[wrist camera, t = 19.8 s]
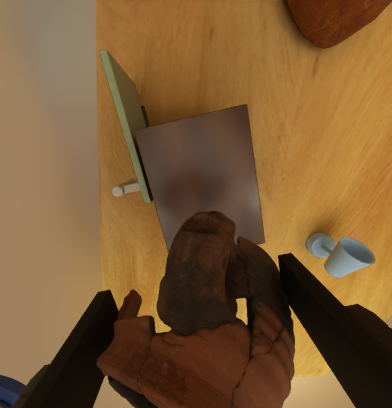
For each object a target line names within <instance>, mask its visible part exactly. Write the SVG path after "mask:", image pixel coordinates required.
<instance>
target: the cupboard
mask: <svg viewBox="0 0 392 408" xmlns="http://www.w3.org/2000/svg"><path fill="white" fill-rule="evenodd" d="M141 109H142V113H143V116H144V120H145V124H146V127H145V128H140V129H136V130H134V134H135V137H136V141H137V144H138V148H139V151H140V155H141V158H142V162H143V165H144V169H145V172H146V176H147V179H148V182H149V186H150V189H151V193H152V196H153V200H154V203H155V207H156V210H157V214H158V217H159V221H160V224H161V228H162V231H163V235H164V238H165V242H166V245H167V249H168V252H169V250H170V247H171V244H172V242H173V239H174V237H175V235H176V234H177V232H178V230H179V229H180V227H181V226H182V224H183V223H184V222H185V221H186V220H187V219H188V218H190V217H191V216H193V215H194V214H195V213H197V212H204V211H206V212H210V211H220V212H222V213H223V214H224V215H225V216H226V217H228V218H229V219H231V220H232V221H234V223H235V226H236V230H235V236H234V241H235V243H236V241H237V239H238V237H240V236H241V237H243V238H246V239H247V240H250V241H251V242H253V243H254V244H256V245H257V244H262V243H265V237H264V229H263V222H262V214H261V207H260V199H259V191H258V184H257V176H256V169H255V161H254V154H253V146H252V138H251V131H250V123H249V116H248V108H247V104H244V105H240V106H235V107H231V108H227V109H222V110H218V111H214V112H210V113H205V114H201V115H197V116H192V117H188V118H184V119H179V120H175V121H171V122H166V123H162V124H158V125H153V126H149V123H148V119H147V116H146V112H145V108H144V106H141ZM236 245H237V243H236Z"/></svg>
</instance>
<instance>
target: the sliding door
mask: <svg viewBox="0 0 392 408" xmlns="http://www.w3.org/2000/svg"><path fill="white" fill-rule="evenodd" d="M99 53H100V57H101V60H102V63H103V67H104V70H105V73H106V76H107V80H108V83H109V86H110V90H111V93H112V96H113V100H114V103H115V106H116V110H117V113H118V116H119V120H120V123H121V126H122V130H123V133H124V136H125V140H126V143H127V146H128V150H129V153H130V156H131V160H132V163H133V166H134V170H135V173H136V176H137V179H131V180H128V181H126V182H124V183H122V184H119V185H117V186H115V187H113V189H112V194H113V195H114V196H115V197H121V196H123V195H124V194H126V193H131V192H135V191H140V190H141V193H142V196H143V200H144V203H145V204H146V203H150V202H151V201H152V200H153V196H152V193H151V189H150V186H149V182H148V179H147V176H146V172H145V169H144V165H143V162H142V158H141V155H140V151H139V148H138V144H137V141H136V137H135V134H134V130H136V129H140V128H145V127H146V124H145V120H144V116H143V113H142V109H141V105H140V101H139V98H138V94H137V90H136V87H135V84H134V83H133V81H132V80H131V79H130V78H129V77H128V75H127V74H126V73H125V72H124V70H123V69H122V68H121V67H120V65H119V64H118V63H117V62H116V61H115V59H114V58H113V57H112V56H111V54H110V53H109V52H108V51H107V49H104V50H100V51H99Z"/></svg>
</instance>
